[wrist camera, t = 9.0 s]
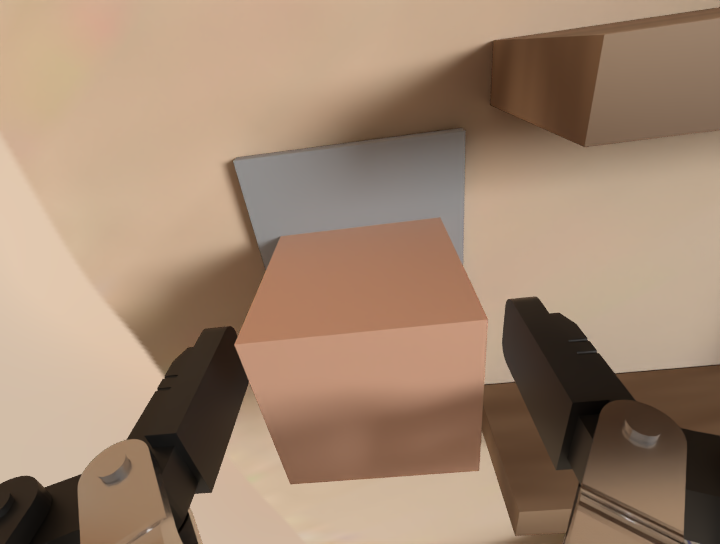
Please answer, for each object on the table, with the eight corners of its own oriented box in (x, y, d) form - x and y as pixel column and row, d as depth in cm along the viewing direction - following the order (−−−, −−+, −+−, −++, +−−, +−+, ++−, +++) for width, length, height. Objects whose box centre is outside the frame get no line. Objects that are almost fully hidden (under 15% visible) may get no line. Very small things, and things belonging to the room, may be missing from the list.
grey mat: (237, 157, 11) (232, 160, 11) (462, 128, 10) (465, 130, 10) (305, 392, 16) (304, 399, 16) (458, 379, 16) (460, 386, 15)
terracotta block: (280, 236, 12) (234, 344, 7) (440, 217, 11) (487, 319, 7) (311, 353, 14) (290, 484, 10) (442, 340, 14) (479, 470, 10)
